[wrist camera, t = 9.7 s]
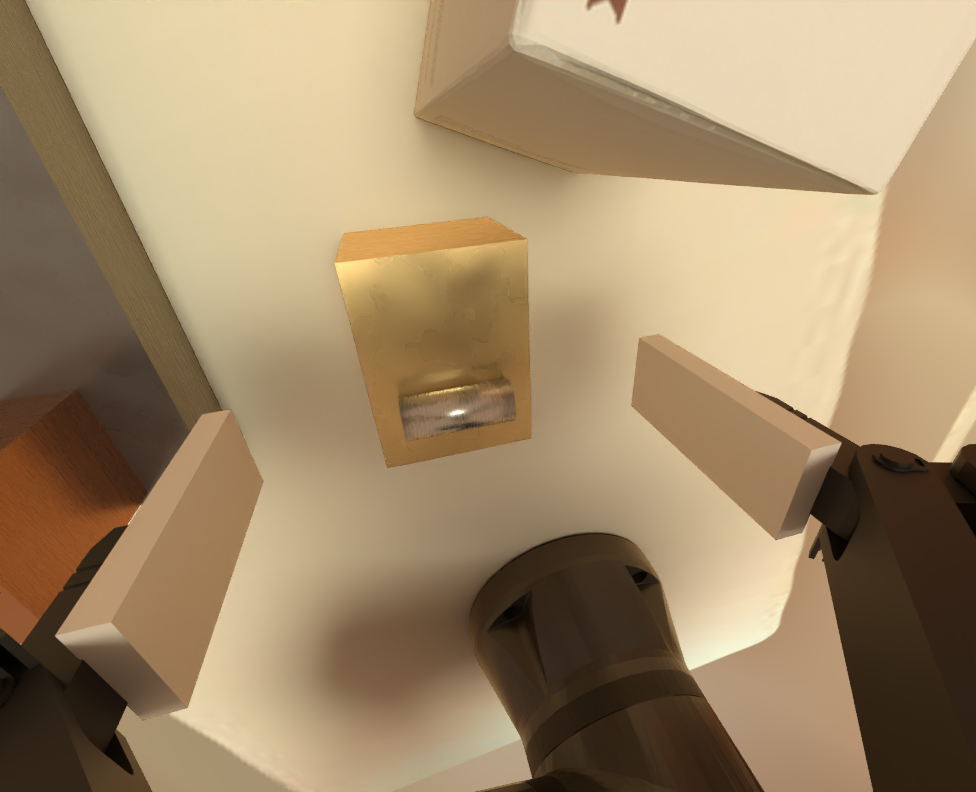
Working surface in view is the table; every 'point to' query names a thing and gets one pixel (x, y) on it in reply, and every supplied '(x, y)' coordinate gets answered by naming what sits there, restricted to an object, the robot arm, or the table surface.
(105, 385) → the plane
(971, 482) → the robot arm
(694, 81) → the supplement box
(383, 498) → the table surface
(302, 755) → the table surface
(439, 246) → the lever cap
